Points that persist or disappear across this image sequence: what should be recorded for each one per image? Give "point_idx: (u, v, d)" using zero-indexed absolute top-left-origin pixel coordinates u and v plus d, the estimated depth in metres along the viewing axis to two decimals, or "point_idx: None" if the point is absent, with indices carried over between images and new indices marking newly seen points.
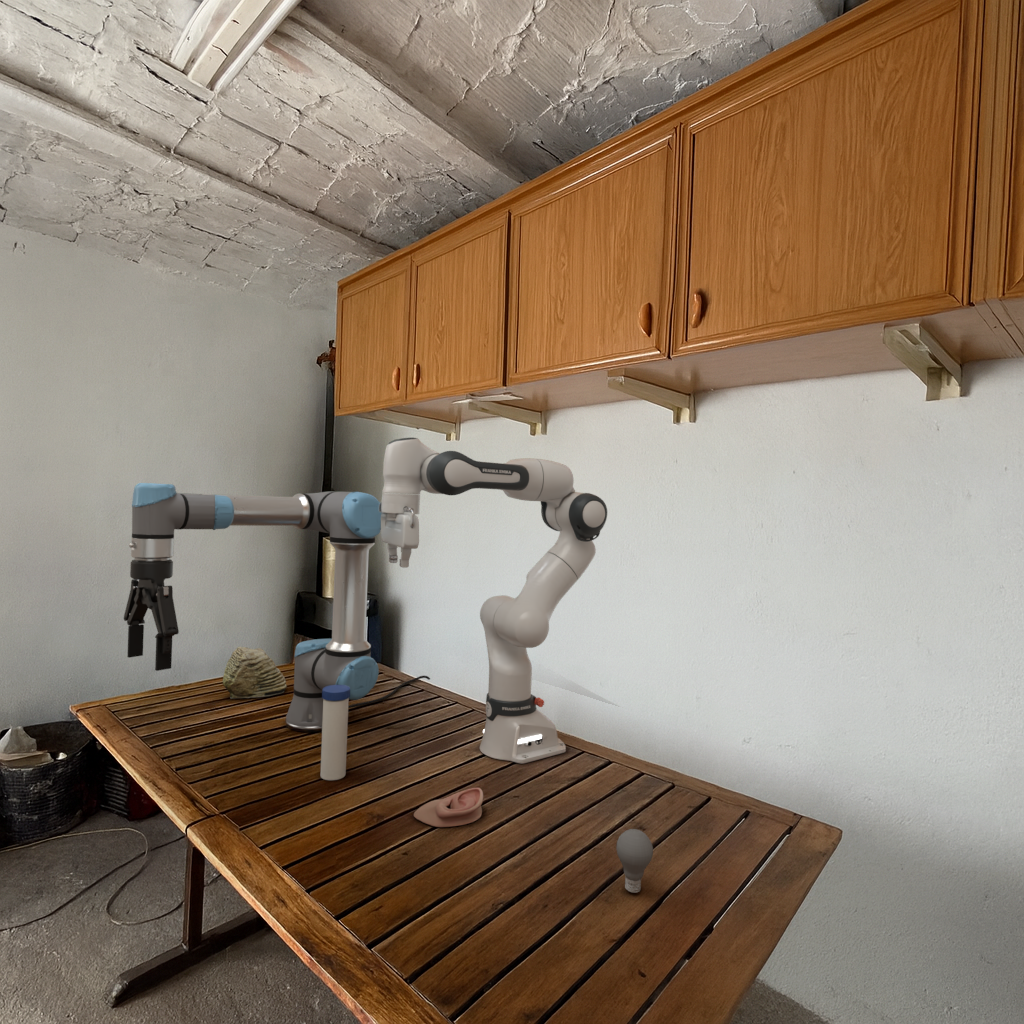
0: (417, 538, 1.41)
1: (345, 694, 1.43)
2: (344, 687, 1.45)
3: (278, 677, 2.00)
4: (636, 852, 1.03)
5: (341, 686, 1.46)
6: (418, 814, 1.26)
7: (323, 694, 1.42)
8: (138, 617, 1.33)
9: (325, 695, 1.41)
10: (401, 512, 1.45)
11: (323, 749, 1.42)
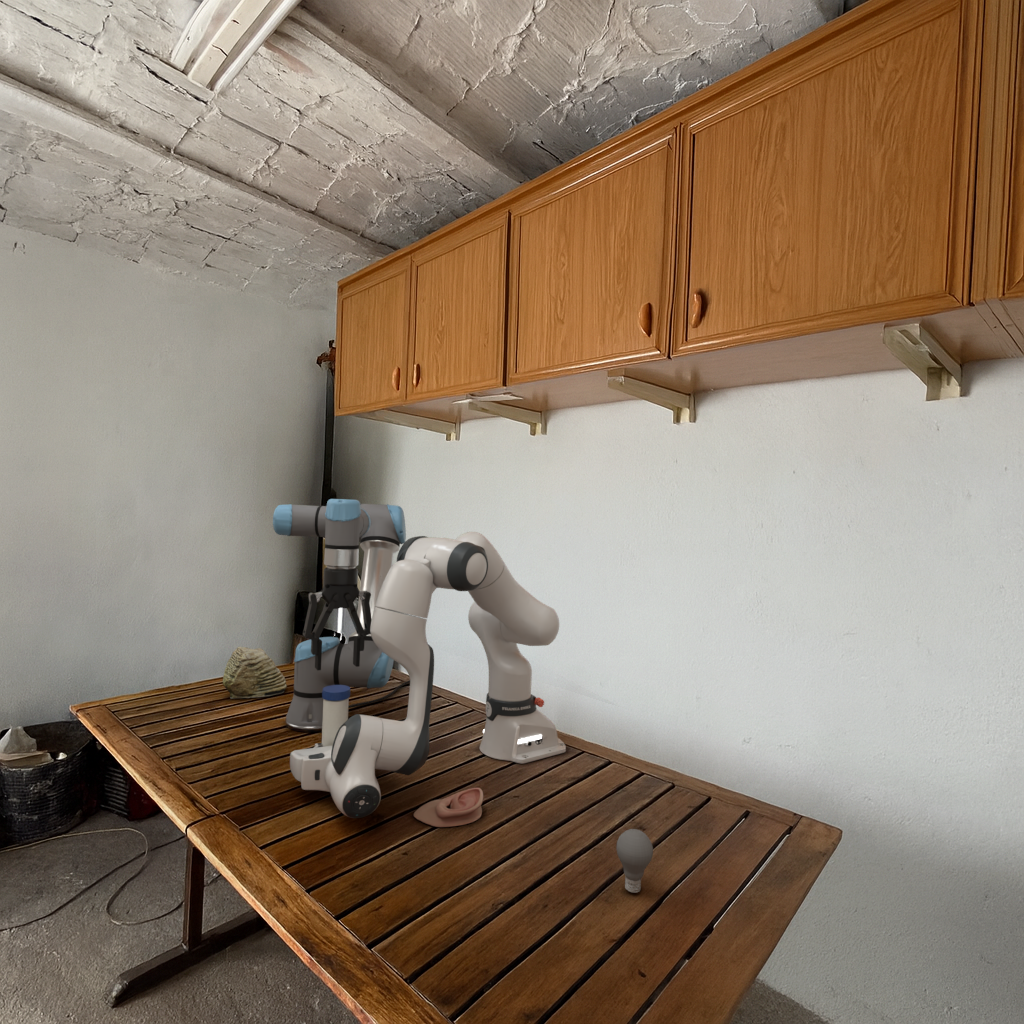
0: None
1: (346, 694, 1.43)
2: (344, 687, 1.45)
3: (278, 677, 2.00)
4: (636, 852, 1.03)
5: (341, 686, 1.46)
6: (418, 814, 1.26)
7: (323, 694, 1.42)
8: (355, 627, 1.46)
9: (325, 695, 1.41)
10: None
11: None
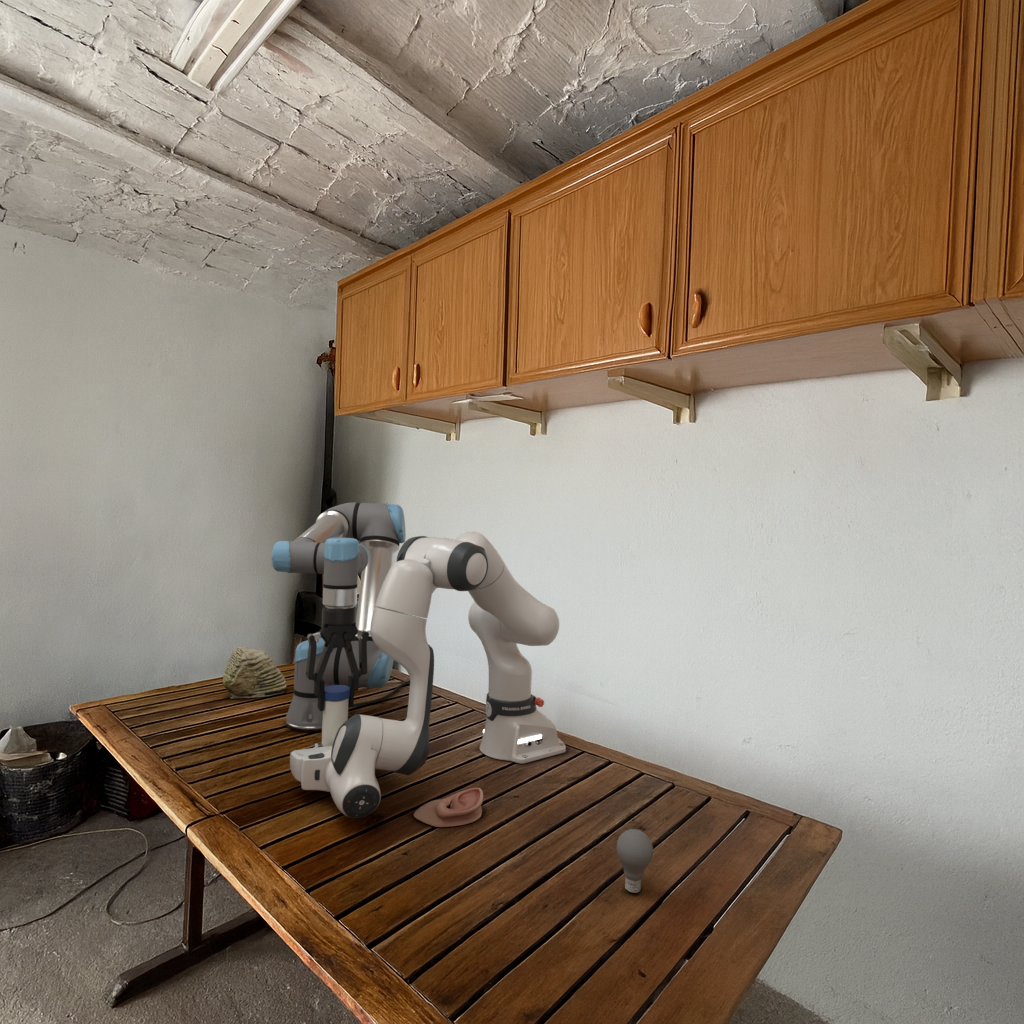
0: None
1: (345, 694, 1.43)
2: (344, 687, 1.45)
3: (278, 677, 2.00)
4: (636, 852, 1.03)
5: (341, 686, 1.46)
6: (418, 814, 1.26)
7: None
8: (350, 667, 1.45)
9: (325, 695, 1.41)
10: None
11: None
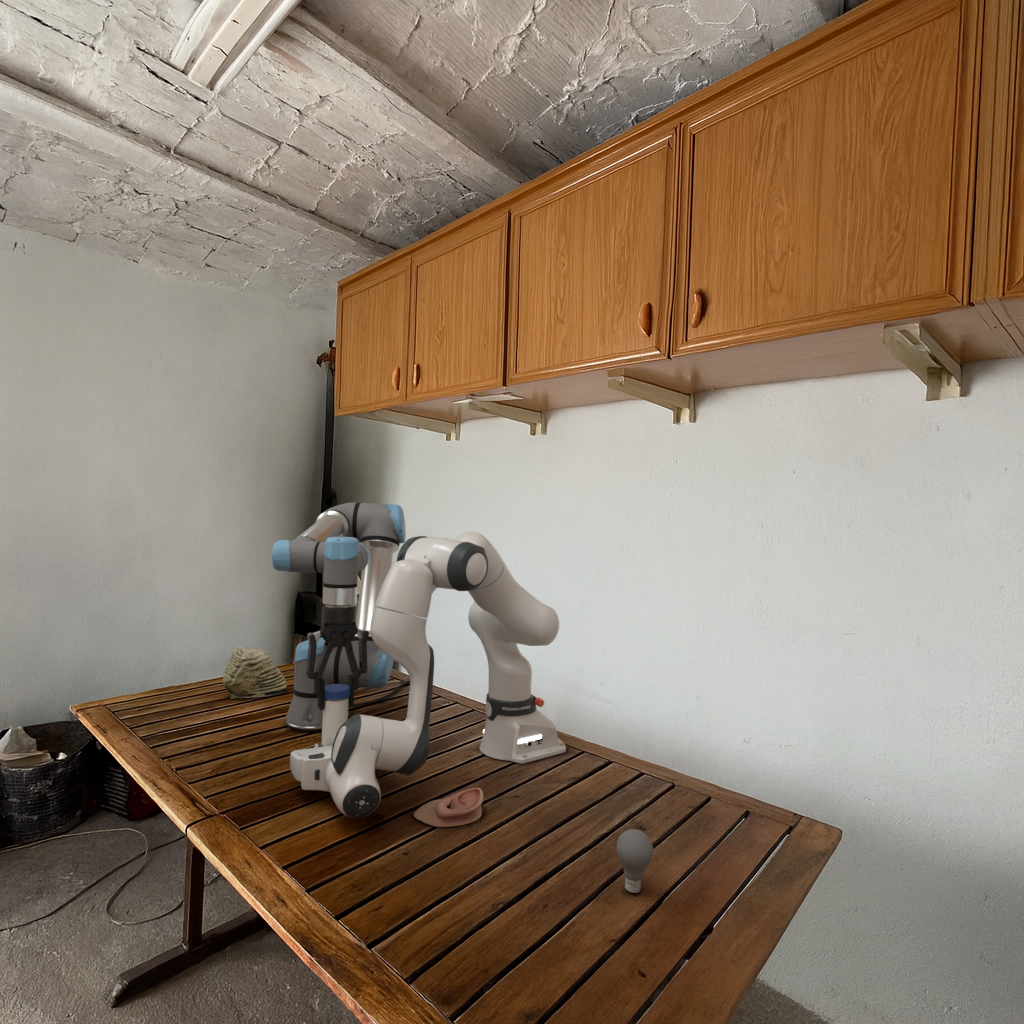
0: None
1: None
2: (337, 685, 1.46)
3: (278, 677, 2.00)
4: (636, 852, 1.03)
5: (332, 685, 1.45)
6: (418, 814, 1.26)
7: (336, 695, 1.41)
8: (350, 666, 1.45)
9: (340, 695, 1.41)
10: None
11: None
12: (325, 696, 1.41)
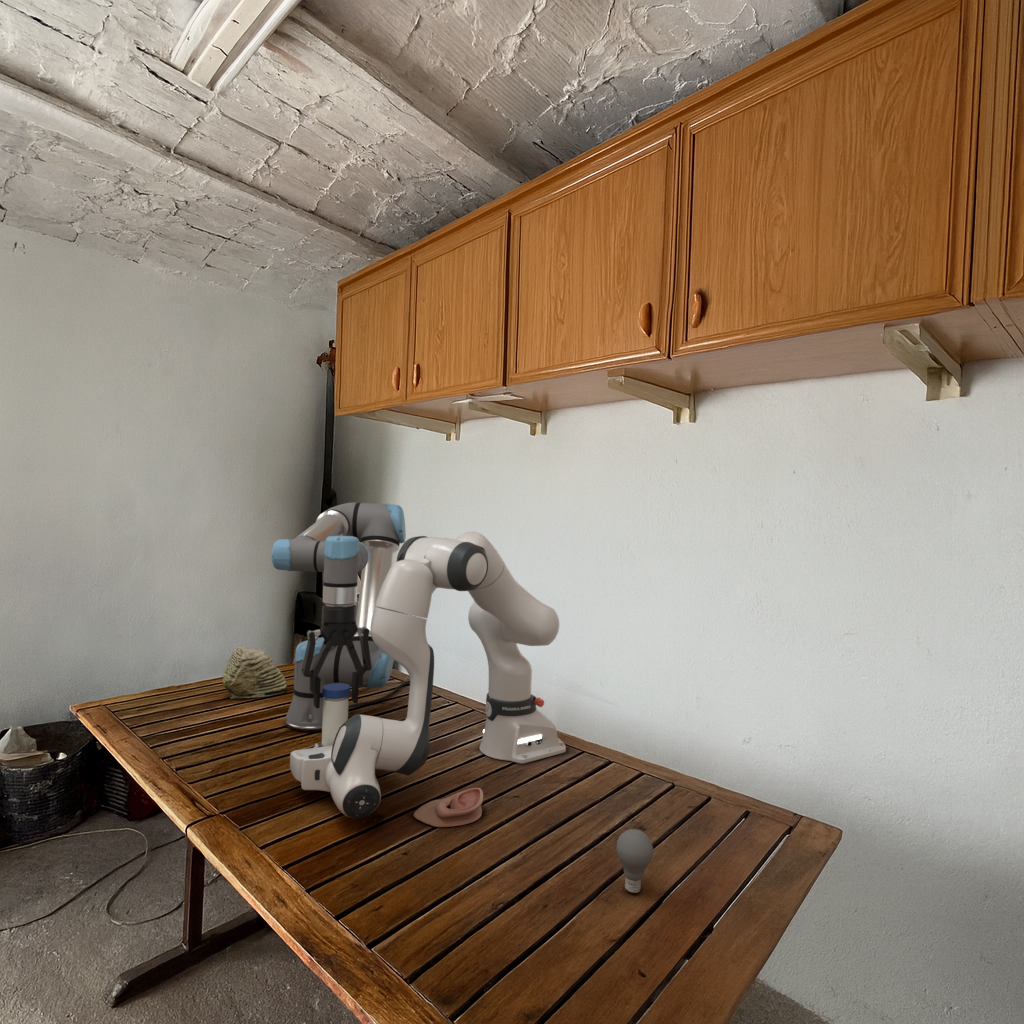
0: None
1: None
2: (328, 685, 1.44)
3: (278, 677, 2.00)
4: (636, 852, 1.03)
5: (328, 687, 1.43)
6: (418, 814, 1.26)
7: (349, 691, 1.44)
8: (354, 663, 1.46)
9: None
10: None
11: None
12: (340, 696, 1.41)
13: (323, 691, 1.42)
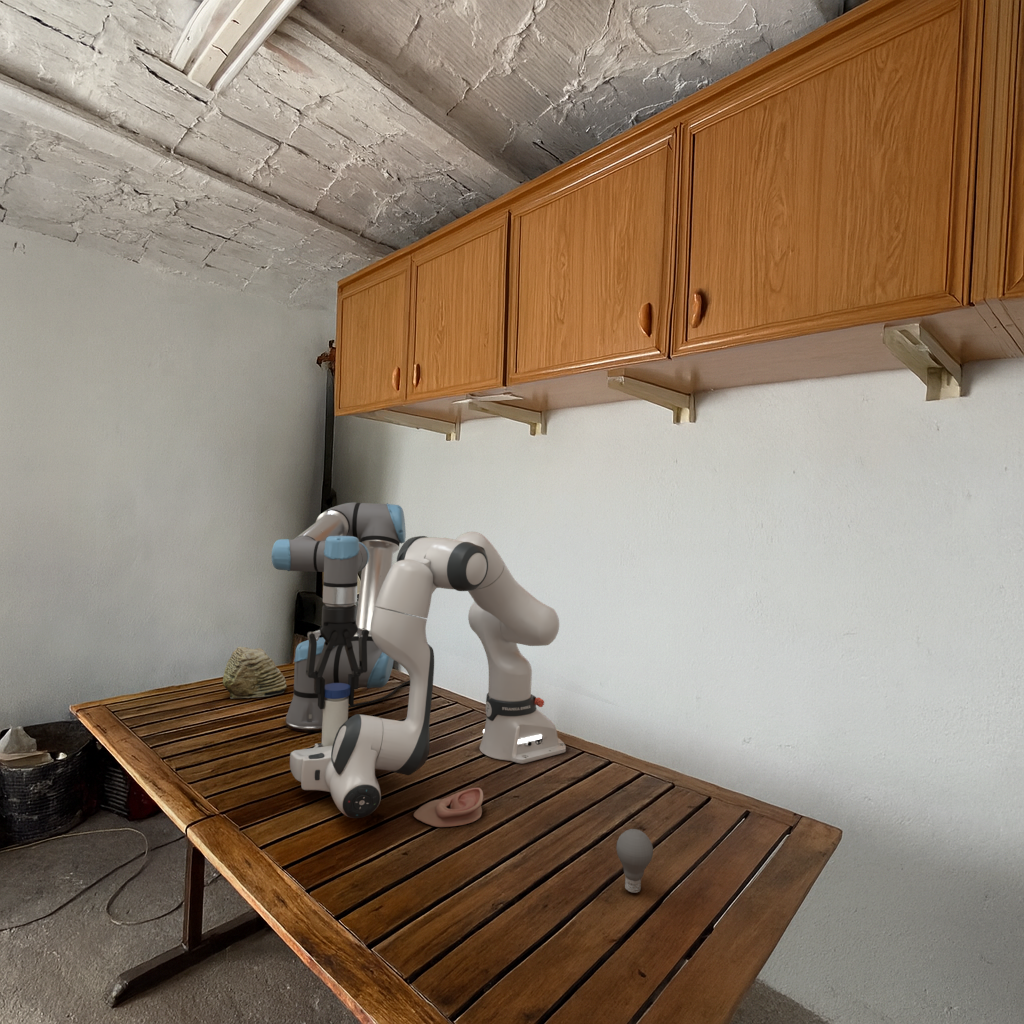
0: None
1: None
2: (328, 685, 1.44)
3: (278, 677, 2.00)
4: (636, 852, 1.03)
5: (328, 687, 1.43)
6: (418, 814, 1.26)
7: (349, 691, 1.44)
8: (350, 665, 1.45)
9: None
10: None
11: None
12: (340, 696, 1.41)
13: None
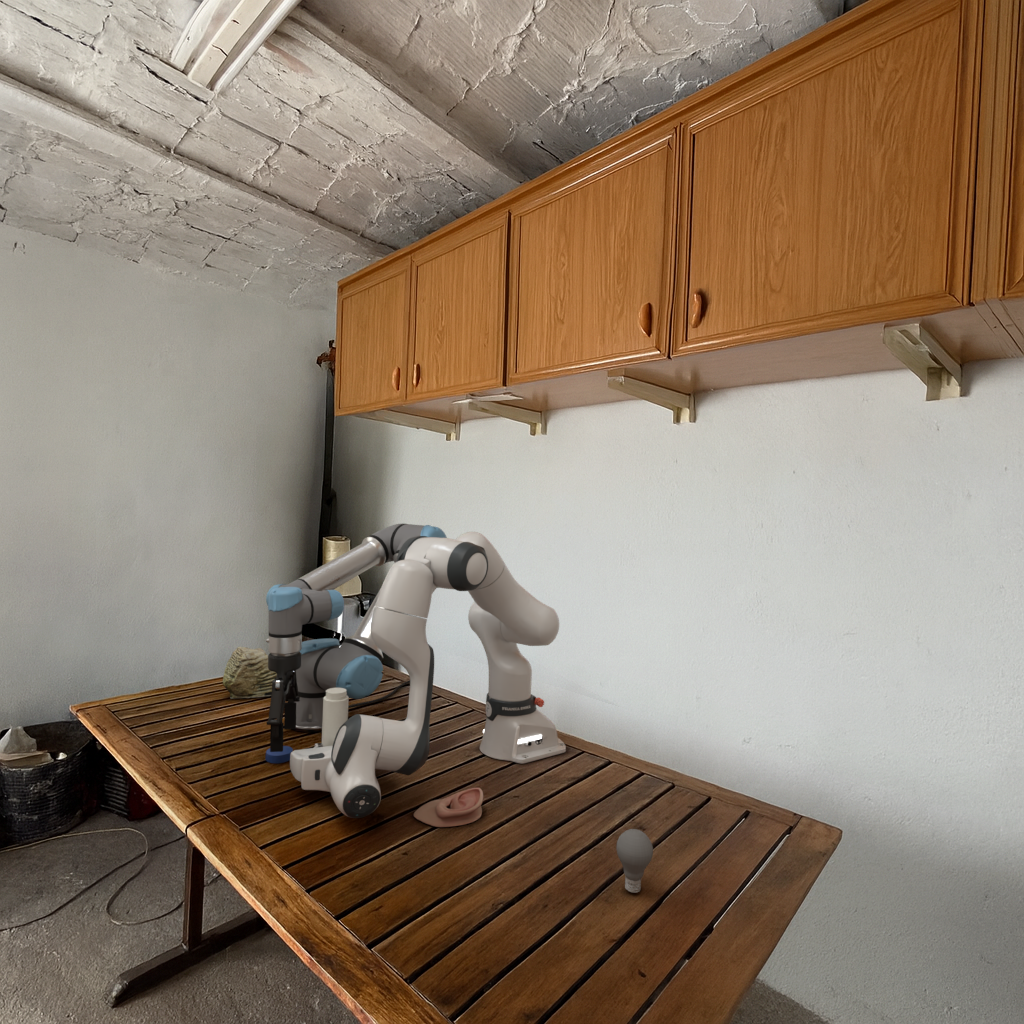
0: None
1: None
2: (272, 752, 1.51)
3: None
4: (636, 852, 1.03)
5: (276, 753, 1.50)
6: (418, 814, 1.26)
7: None
8: (290, 697, 1.58)
9: None
10: None
11: None
12: None
13: (277, 758, 1.49)
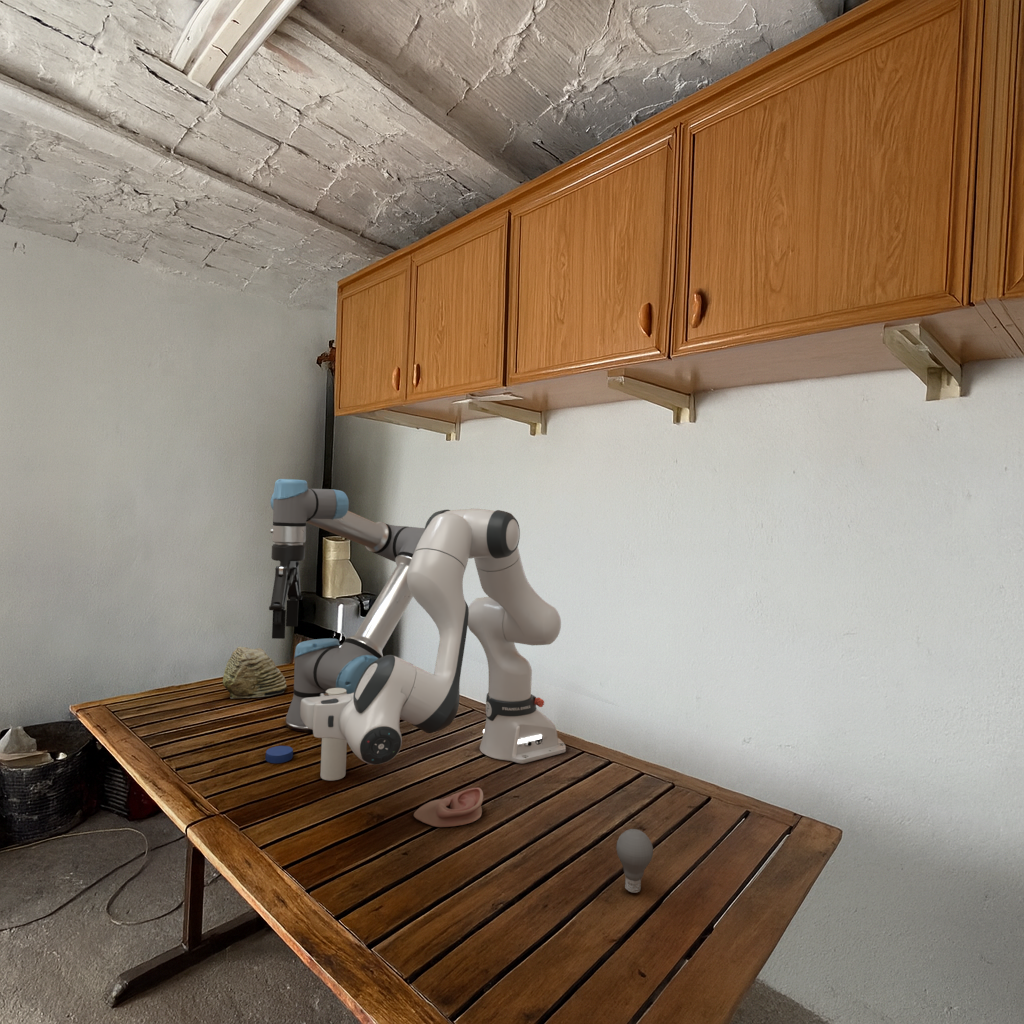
0: None
1: None
2: (272, 752, 1.51)
3: (278, 677, 2.00)
4: (636, 852, 1.03)
5: (276, 753, 1.50)
6: (418, 814, 1.26)
7: None
8: (292, 593, 1.58)
9: None
10: None
11: (323, 749, 1.42)
12: (292, 755, 1.53)
13: (277, 758, 1.49)
